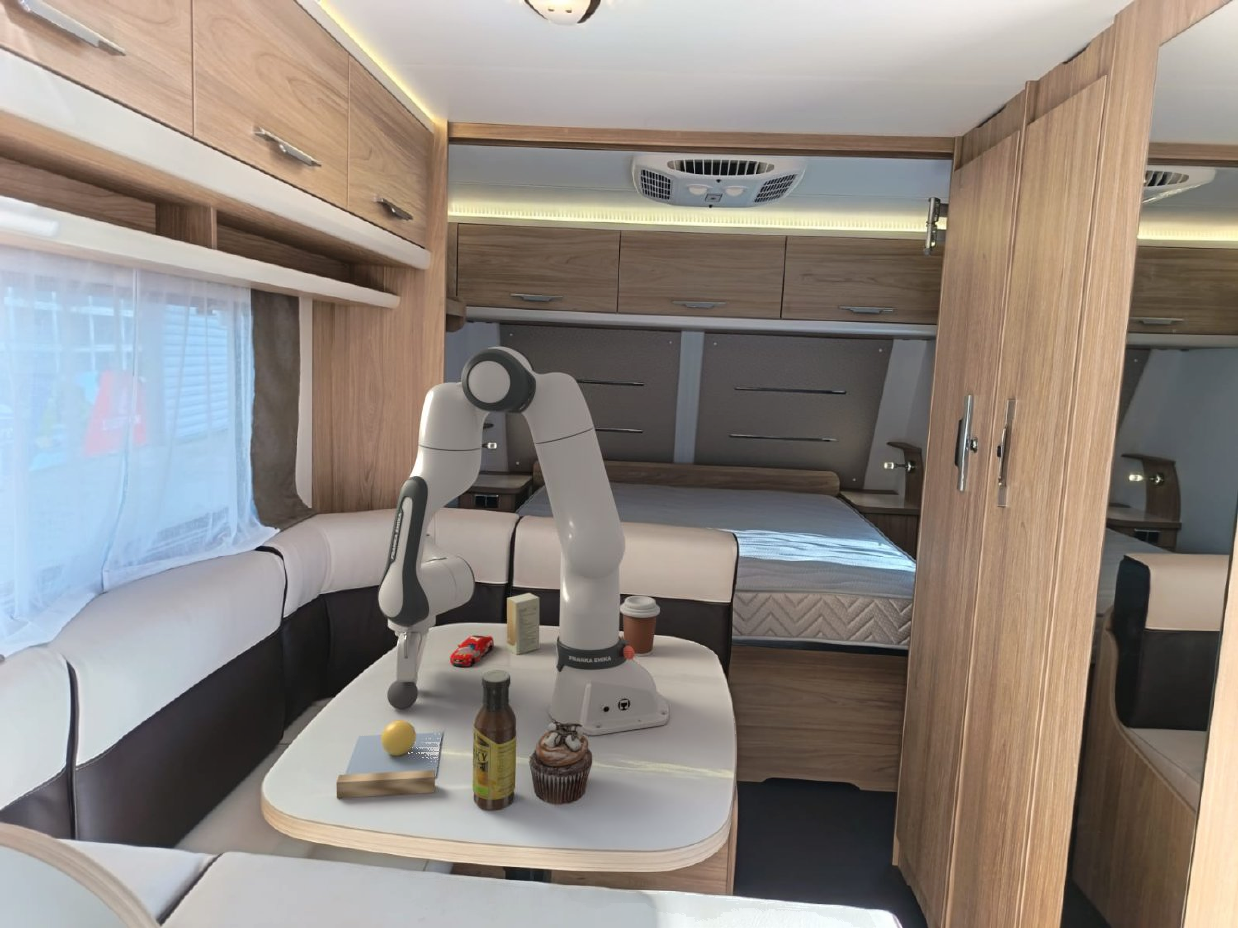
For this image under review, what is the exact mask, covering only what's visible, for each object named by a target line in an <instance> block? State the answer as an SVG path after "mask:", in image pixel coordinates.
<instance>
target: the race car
mask: <svg viewBox="0 0 1238 928" xmlns="http://www.w3.org/2000/svg"><path fill="white" fill-rule="evenodd" d="M494 643H495V642H494V638H493V637H492V635H486V634H474V635H471V636H469V637H468V638H466V639H465V640H464V641H463V642H461V644H457V647H458V648H457V649H455V650H454V651H453V652H452V653H451V655H450V657H449V662H450V664H451V665H453V666H455V667H472V666H473V665H475V664H476V663H477V662H478V661H480V660H481V659H482V658H483V657H485V656H487V655H488V654H489V653H491V652H492V650H493V649H494V647H495V646H494Z"/></svg>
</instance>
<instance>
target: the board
mask: <svg viewBox="0 0 1238 928" xmlns="http://www.w3.org/2000/svg"><path fill="white" fill-rule="evenodd" d="M415 733H416V732H415ZM435 733H436V735H435ZM438 733H441V734H440V735H439V734H438ZM442 733H443V731H442V732H441V731H440V732H419V733H416V740H415V742H416V743H414V745H413V748H411V750H410V751H408V752H409V753H410V754H408V752H407V753H405V754H403V755H400V756H394V755H391V754H389V753H387V752H386V751H385V750H384V748H383V746H382V743H381V736H382V734H377V735H375V734H374V735H359V736H358V738H357V740H356V744H355V746H354V749H353V752H352V754H351V757H350V760H349V762H348V765H347V767H346V770H345V773H344V775H348V774H367V773H386V772H405V771H425V770H435V779H436V778H437V775H436V774H437V772H438V768H439V761H438V760H439V759H440V754H439V755H437V756H436V755H431V756H430V754H429V756H428V755H427V754H426V753H424V754H421V752H433V751H434V750H433V751H431V750H430V748H429V750H430V751H429V750H428V749H427V748H423V749H422V748H421V749H420V748H419V747H438V745H437V744H436V743H435V744H434V743H431V744H428V743H427V744H426V743H425V742H441V743H442V741H441V740H440V738H442V739H443V734H444V733H443V734H442ZM426 738H427V739H426ZM429 738H431V739H429ZM437 738H439V739H437ZM422 742H423V743H422ZM416 747H417V748H418V749H417V748H416ZM439 747H442V745H441V746H440V744H439ZM432 749H433V748H432ZM411 752H413V753H411ZM418 752H420V754H419V753H418ZM434 752H440V753H441V750H440V751H434ZM416 753H417V754H416ZM425 755H426V756H425ZM422 757H424V758H422ZM426 757H428V758H429V759H428V758H426ZM430 757H431V758H432V759H431V758H430ZM433 757H439V758H435V759H434V758H433ZM437 759H438V760H437ZM431 761H432V762H431ZM435 761H436V762H435ZM437 761H438V762H437ZM437 767H438V768H437Z"/></svg>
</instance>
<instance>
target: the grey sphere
mask: <svg viewBox="0 0 1238 928" xmlns="http://www.w3.org/2000/svg"><path fill="white" fill-rule="evenodd" d="M386 696H387V701H388V703H389V704H390V706H391V707H393V708H395V710H407V709H409V708H411V707H412V706H413V705H414V704H415V703H416V702H417V699H418V698H419V697H418V696H419V688H418V686H417V684H415V683H414V682H398V681H397V679H396V680H395V681H393V682H392V683H391V685H390V686H389V688H388V689H387V695H386Z"/></svg>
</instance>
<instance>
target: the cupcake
mask: <svg viewBox="0 0 1238 928" xmlns="http://www.w3.org/2000/svg"><path fill="white" fill-rule="evenodd" d="M547 729H548V732H546V733H544V734H543V735H542V737H541V738H540V739H539V740H538V742H537V743H536V746H535V749H534V750H533V751H534V752H533V753H532V755H531V756H529V758H528V759H529V761H528V763H529V770H530V774H531V778H532V784H533V790H534V794H535V796H536V797H537V798H538V799H539V800H540V801H542V802H544V803H548V804H550V805H551V804H552V805H566V804H567V805H568V804H572V803H574V802H577V801H578V800H580V799H581V798H583V796H584V795H585V793H586V788H587V782H588V778H589V775H590V771H591V769H592V766H593V754H592V751H591V750H590V749H589V740H588V739H587V738H586V736H585V735H584V734H585V733H584V729H583V728H582V725H580V724H576V723H566V724H561V723H560V722H557V721H556V720H554V722H550V723H549V725H548V728H547Z"/></svg>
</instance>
